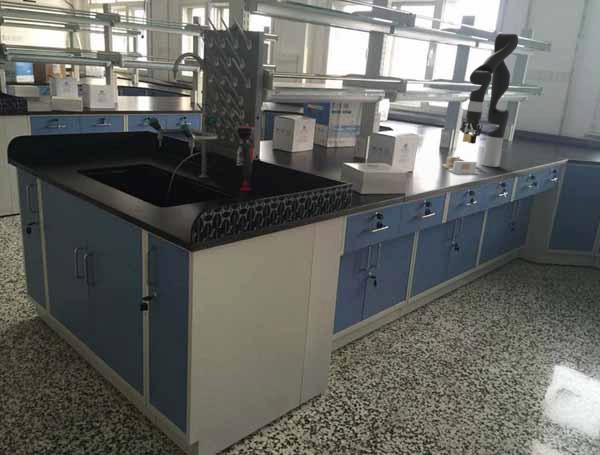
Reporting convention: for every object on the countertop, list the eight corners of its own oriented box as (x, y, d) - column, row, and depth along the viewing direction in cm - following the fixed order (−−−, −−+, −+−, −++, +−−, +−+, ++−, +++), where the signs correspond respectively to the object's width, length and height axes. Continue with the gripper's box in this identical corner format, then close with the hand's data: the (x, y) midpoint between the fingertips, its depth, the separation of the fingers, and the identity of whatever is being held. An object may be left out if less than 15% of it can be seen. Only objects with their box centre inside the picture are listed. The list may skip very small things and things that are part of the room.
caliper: (453, 166, 302) (454, 155, 300) (453, 166, 303) (455, 155, 301) (488, 173, 291) (490, 162, 289) (488, 173, 291) (490, 162, 289)
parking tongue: (452, 166, 302) (454, 155, 300) (461, 169, 294) (463, 158, 293) (441, 166, 299) (443, 155, 297) (449, 169, 292) (451, 158, 290)
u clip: (468, 141, 284) (470, 133, 282) (475, 143, 279) (476, 135, 277) (462, 141, 282) (463, 133, 281) (469, 143, 277) (470, 135, 276)
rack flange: (469, 170, 292) (471, 160, 290) (478, 174, 285) (480, 163, 283) (448, 170, 287) (450, 160, 285) (457, 174, 280) (459, 163, 278)
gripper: (489, 112, 270) (483, 145, 276) (471, 109, 283) (466, 140, 288) (478, 111, 268) (471, 144, 273) (460, 108, 280) (454, 140, 285)
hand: (468, 142), depth 281 cm, fingers closed on u clip, 5 cm apart
